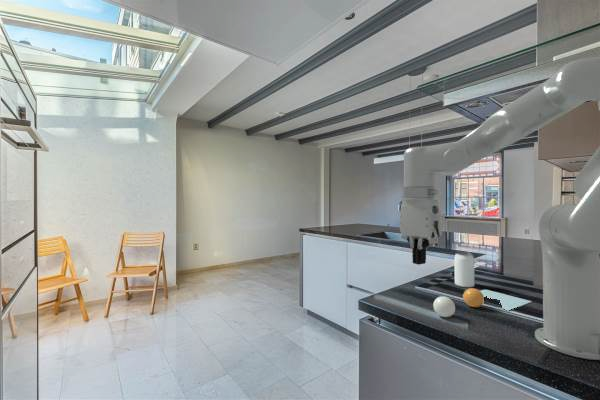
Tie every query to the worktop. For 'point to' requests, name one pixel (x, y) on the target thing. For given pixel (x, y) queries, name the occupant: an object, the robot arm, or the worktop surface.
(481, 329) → the worktop surface
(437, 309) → the cue ball
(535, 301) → the worktop surface
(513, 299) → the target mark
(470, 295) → the object ball
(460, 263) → the can
